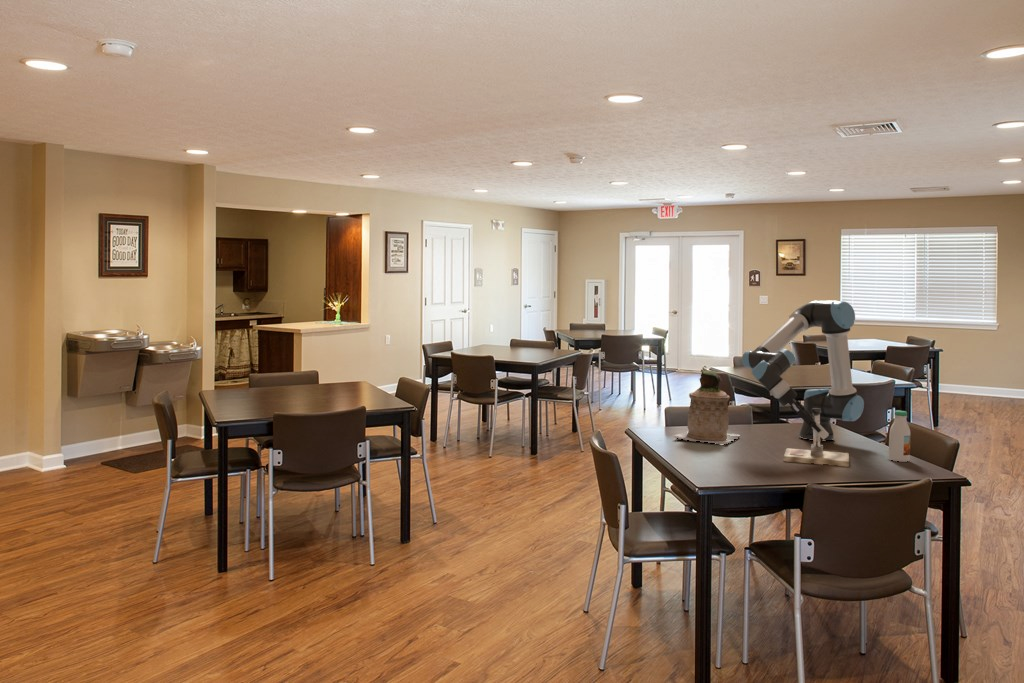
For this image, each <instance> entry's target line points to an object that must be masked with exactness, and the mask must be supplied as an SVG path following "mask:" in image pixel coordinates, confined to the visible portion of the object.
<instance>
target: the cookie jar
mask: <svg viewBox="0 0 1024 683" xmlns="http://www.w3.org/2000/svg"><path fill="white" fill-rule="evenodd" d="M700 372H701V374H700V378H698V380H699V382H700V383H699V384H700V387H699V388H697V389H696V390H695V391H693V392H690V393H689V394H688V396H689V398H690V405H689V410H688V415H687V430H686V431H685V432H687V433H688V434H683V432H682V433H677V434H674V435H673V436H674V439H676V438H678V439H677V440H681V439H683V440H682V441H687V440H689V441H688V442H696V441H700V442H699V443H704V442H708V443H707V444H710V443H716V444H725V445H729V444H730V443H732V442H731V441H733V442H735V441H734V440H726V439H727V435H730V436H740V437H741V435H740V434H736V433H728V430H729V425H730V420H729V400H730V399H731V397H730V395H728V394H727V393H726V392H725V391H724V390H721V389H720V387H719V386H720V384H721V383H723V379H722V377H721V376H720V375H719V374H718V373H717V372H716V371H713V370H704V369H703V368H701V369H700ZM728 443H729V444H728ZM716 444H715V445H716Z"/></svg>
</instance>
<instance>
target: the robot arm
mask: <svg viewBox="0 0 1024 683" xmlns="http://www.w3.org/2000/svg"><path fill="white" fill-rule="evenodd" d="M855 320H856V313H855V310H854V308H853V306H852V305H851V304H850V303H849V302H847V301H843V300H842V301H841V300H812V301H810V302H807V303H805V304H803V305H802V306H800V307H798V308H796V310H794V311H793V312H792V313H791V314H790V315H789V316H788V320H786V322H784V323H783V324H782V325H780V326H779V328H777V329H776V330H775V331H774V332H773V333H772V334H771V335H770V336H768V337H767V339H765V340H764V341H763V342H762V343H760V345H759V346H757V347H756V348H755V349H754V350H746V351H744V353H743V354H742V356H741V363H742V365H743V367H745V368H747V369H751V374H752V375H753V376H754V378H755V379H756V381H758V382H759V383H760V384H761V386H763V387H764V388H765V389H766V390H767V391H768V392H769V395H770V396H773V397H774V398H775V399H777V401H778V402H779V404H780V405H781V406H782V407H785V406H787V405H790V410H792V411H793V412H794V413H795V414H797V415H798V416H799V417H800V418H801V419H802V420H803V421H802V424H801V427H800V428H799V432H798V437H799V436H801V437H803V438H807V439H813V430H814V431H815V432H816V433H817V434H818V435H819V436H820V440H832V439H834V440H835V435H834V431H833V428H832V424H831V420H832V419H834V420H839V421H843V422H855V421H858V419H859V418H860V417H861V416H862V414H863V411H864V407H865V401H864V398H863V397H862V396H860V395H858V392H857V391H858V390H857V388H856V387H854V386H853V381H852V380H853V378H852V371H851V370H852V369H851V360H850V351H849V350H850V349H849V340H848V335H849V334H848V333H849V332H851V328H852V327H853V326H854V324H855ZM815 327H816V328H821V334H822V335H824V336H825V337H826V348H827V357H828V366H829V375H830V384H831V388H814V389H812V388H811V389H810V388H809V389H806V390H805V392H804V394H803V395H804V396H803V404H802V403H801V402H800V400H796V399H795V398H796V397H797V396H798V393H797V392H796V390H794V389H793V388H792V387H790V386H791V385H790V384H788V382H786V381H785V379H783V377H781V376H782V375H783V374H784V373H785V372H786V371H787V370H788V369H790V368H791V367H792V366H793V365H794V363H795V361H796V357H795V355H794V353H793V352H792V351H790V349H787V348H785V347H786V346H787V345H789V343H790V342H791V341H792V340H794V339H795V338H796V337H797V336H798V335H799V334H800V333H801V332H806V331H807V330H808V329H810V328H815ZM812 408H820V409H821V413H820V426H819V425H818V424H817V423H816V422H815V421H814V420H813V413H812Z"/></svg>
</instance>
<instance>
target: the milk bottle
mask: <svg viewBox="0 0 1024 683" xmlns="http://www.w3.org/2000/svg"><path fill="white" fill-rule="evenodd" d="M907 418H908V412H907V411H906V410H894V420H893V422H892V425H891V426H890V430H889V438H888V456H887V457H888V460H889V461H891V460H893V461H892V462H897V461H899V463H906V462H907V461H908V462H910V458H911V429H910V426H909V424H908V421H907ZM908 462H907V463H908Z"/></svg>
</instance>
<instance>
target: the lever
mask: <svg viewBox="0 0 1024 683" xmlns="http://www.w3.org/2000/svg"><path fill="white" fill-rule="evenodd" d="M812 413H813V420H814V421H815V422H816V423H817V424H818V425H819V426H820V413H821V409H820V408H812ZM812 444H813V447H820V445H821V441H820V436H819V435H818V434H817V433H816V432H815V431H814V430H813V441H812Z"/></svg>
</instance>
